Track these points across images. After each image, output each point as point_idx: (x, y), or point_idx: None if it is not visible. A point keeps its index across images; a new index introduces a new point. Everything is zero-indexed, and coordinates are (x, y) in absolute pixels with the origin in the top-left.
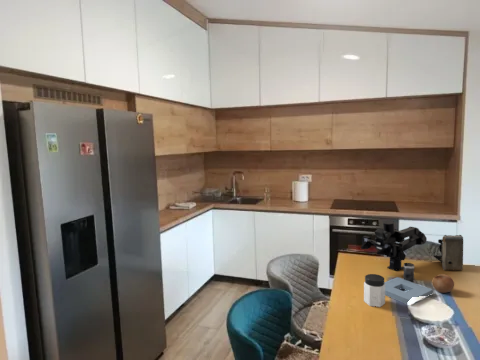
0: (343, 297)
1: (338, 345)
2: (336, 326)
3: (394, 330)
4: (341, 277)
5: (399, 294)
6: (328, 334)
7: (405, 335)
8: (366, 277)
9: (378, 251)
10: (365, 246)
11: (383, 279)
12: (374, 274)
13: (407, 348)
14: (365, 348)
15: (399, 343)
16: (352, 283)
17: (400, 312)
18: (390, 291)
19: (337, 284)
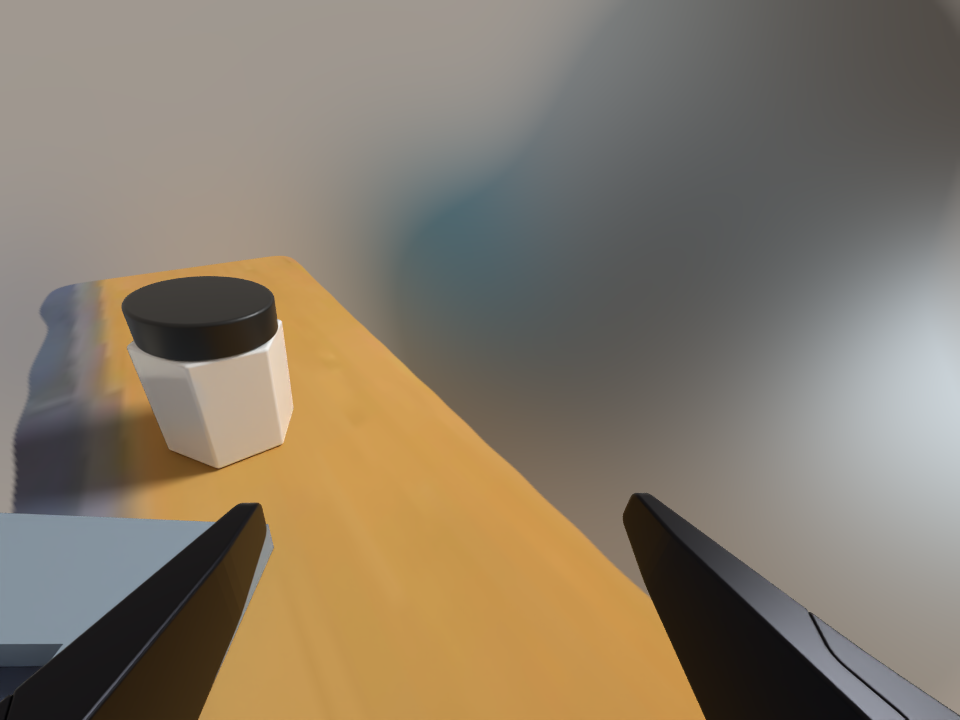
0: (389, 390)
1: (273, 268)
2: (311, 295)
3: (114, 331)
4: (575, 552)
5: (7, 538)
6: (312, 279)
7: (65, 327)
8: (258, 286)
9: (216, 529)
10: (744, 695)
11: (128, 296)
12: (214, 318)
13: (70, 296)
14: (208, 274)
15: (99, 301)
16: (462, 530)
17: (59, 428)
18: (110, 532)
19: (500, 460)
